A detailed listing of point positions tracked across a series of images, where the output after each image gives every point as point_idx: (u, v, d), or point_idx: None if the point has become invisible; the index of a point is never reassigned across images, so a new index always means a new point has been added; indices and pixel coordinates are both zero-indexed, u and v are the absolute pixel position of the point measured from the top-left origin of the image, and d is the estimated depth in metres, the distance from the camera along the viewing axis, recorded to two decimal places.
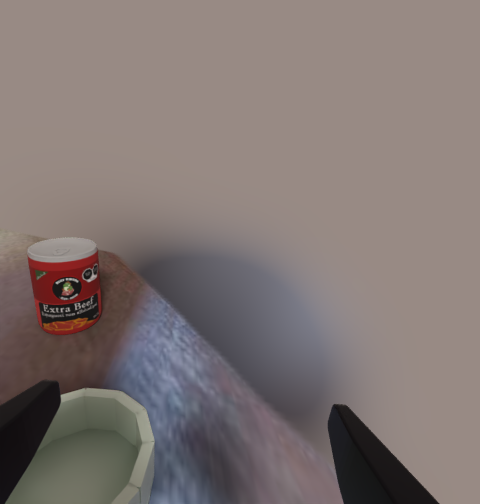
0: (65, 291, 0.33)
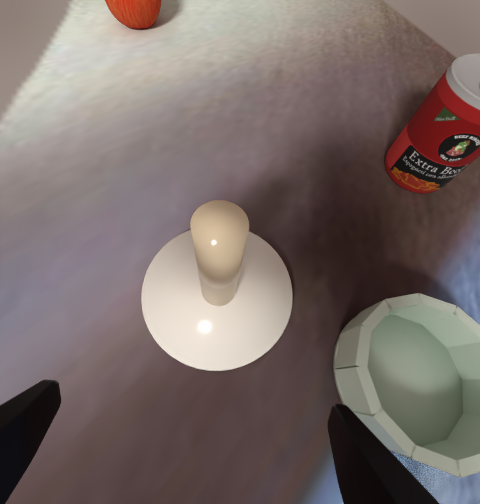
0: (453, 150, 0.26)
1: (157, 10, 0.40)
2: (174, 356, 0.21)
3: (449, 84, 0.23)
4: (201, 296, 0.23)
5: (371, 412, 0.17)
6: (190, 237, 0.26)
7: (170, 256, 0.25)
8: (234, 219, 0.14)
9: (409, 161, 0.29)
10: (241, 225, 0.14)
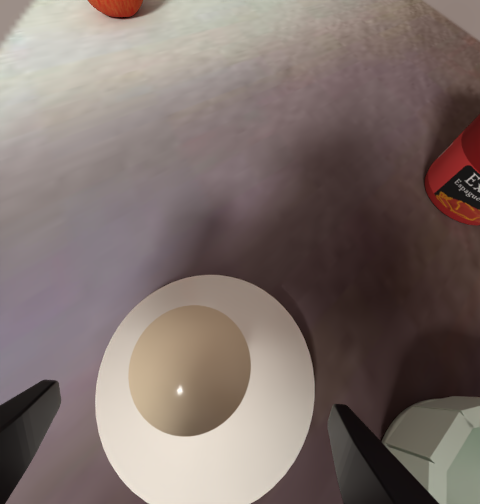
0: None
1: None
2: (140, 494, 0.14)
3: None
4: None
5: None
6: (169, 294, 0.18)
7: (140, 325, 0.17)
8: (221, 351, 0.07)
9: (464, 186, 0.22)
10: (236, 365, 0.07)
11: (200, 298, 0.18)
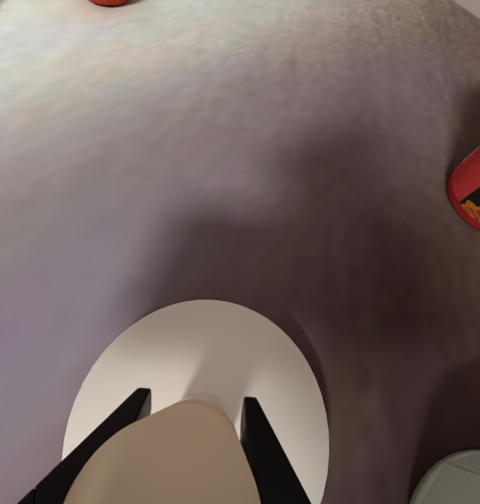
0: None
1: None
2: None
3: None
4: None
5: None
6: (155, 325, 0.16)
7: (119, 364, 0.15)
8: (213, 502, 0.04)
9: None
10: None
11: (191, 329, 0.16)
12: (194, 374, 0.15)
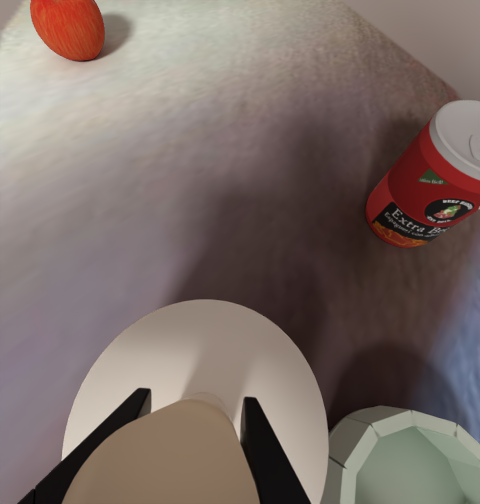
0: (442, 213, 0.22)
1: (100, 40, 0.35)
2: None
3: (434, 143, 0.20)
4: None
5: None
6: (154, 325, 0.16)
7: (119, 363, 0.15)
8: (211, 501, 0.04)
9: (392, 218, 0.25)
10: None
11: (191, 328, 0.16)
12: (194, 373, 0.15)
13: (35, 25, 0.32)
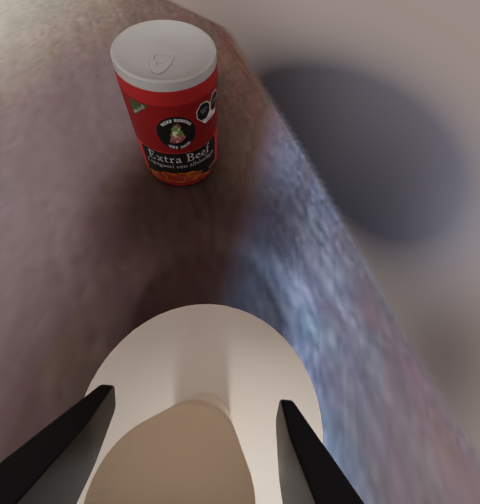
0: (174, 138, 0.22)
1: None
2: None
3: (115, 70, 0.19)
4: None
5: None
6: (158, 328, 0.16)
7: (124, 365, 0.15)
8: (214, 487, 0.05)
9: (153, 160, 0.25)
10: None
11: (192, 332, 0.16)
12: (195, 375, 0.15)
13: None
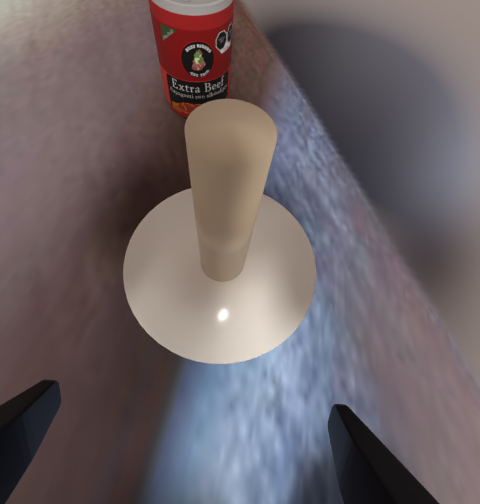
0: (196, 64, 0.26)
1: None
2: (165, 345, 0.16)
3: None
4: (200, 269, 0.18)
5: None
6: (186, 198, 0.20)
7: (161, 221, 0.19)
8: (254, 125, 0.09)
9: (175, 90, 0.29)
10: (265, 133, 0.09)
11: None
12: None
13: None
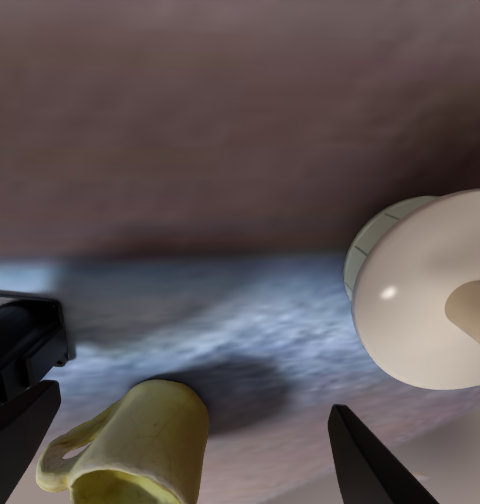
0: None
1: None
2: (369, 278, 0.15)
3: None
4: (458, 285, 0.16)
5: None
6: None
7: None
8: None
9: None
10: None
11: None
12: None
13: None
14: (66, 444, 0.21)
